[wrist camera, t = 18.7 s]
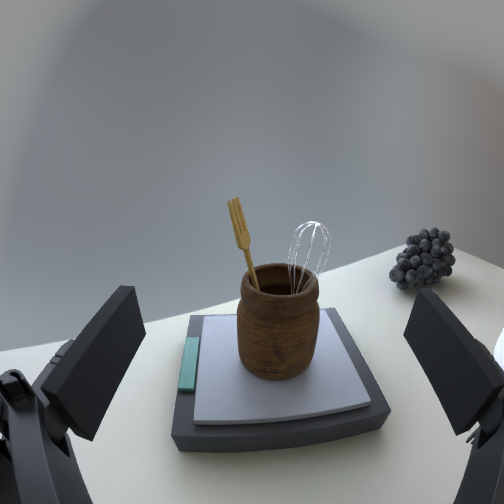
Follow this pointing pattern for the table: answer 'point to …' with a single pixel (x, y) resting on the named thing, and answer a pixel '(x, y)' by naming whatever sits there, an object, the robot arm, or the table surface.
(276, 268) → the utensil holder
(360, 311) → the table surface
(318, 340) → the scale
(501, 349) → the can
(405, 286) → the fruit
